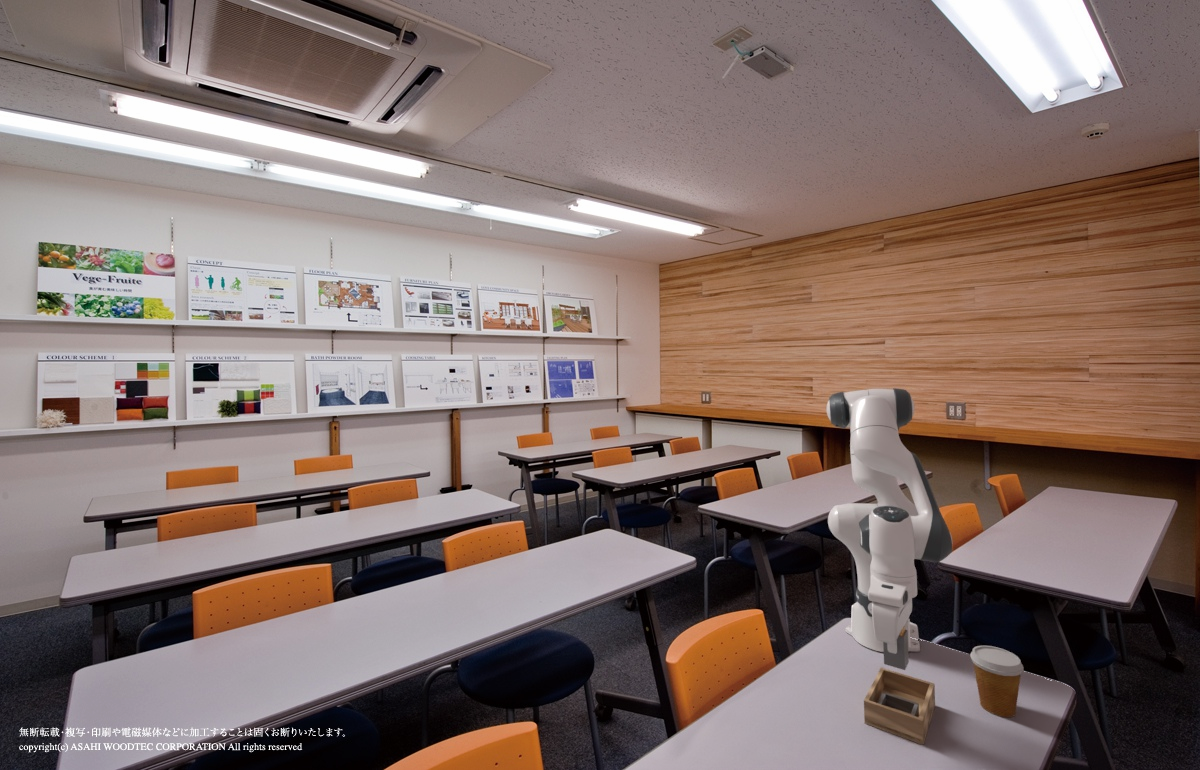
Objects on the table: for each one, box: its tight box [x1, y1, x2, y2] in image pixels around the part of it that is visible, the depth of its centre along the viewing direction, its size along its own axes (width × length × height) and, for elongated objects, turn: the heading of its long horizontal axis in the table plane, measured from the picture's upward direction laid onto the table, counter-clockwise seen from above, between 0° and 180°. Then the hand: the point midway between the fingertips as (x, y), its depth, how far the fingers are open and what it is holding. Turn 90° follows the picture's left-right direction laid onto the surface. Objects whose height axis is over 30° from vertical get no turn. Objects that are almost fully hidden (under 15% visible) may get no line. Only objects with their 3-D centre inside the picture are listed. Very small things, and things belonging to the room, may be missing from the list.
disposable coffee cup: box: [969, 645, 1024, 718], centre depth 116 cm, size 10×10×12 cm
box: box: [863, 667, 936, 746], centre depth 115 cm, size 16×11×5 cm
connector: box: [883, 626, 910, 671], centre depth 112 cm, size 4×4×8 cm
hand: (895, 646), depth 112 cm, fingers closed on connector, 4 cm apart
